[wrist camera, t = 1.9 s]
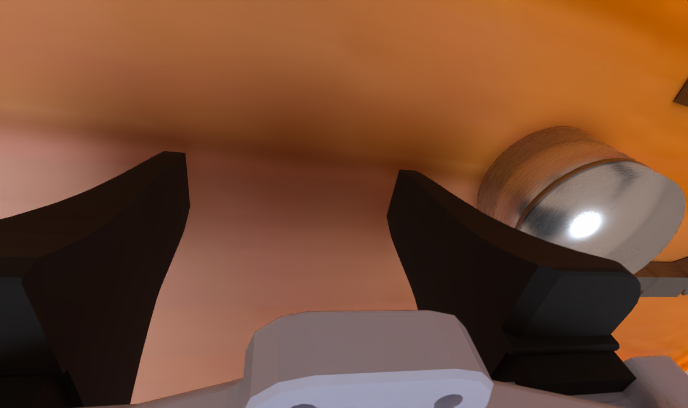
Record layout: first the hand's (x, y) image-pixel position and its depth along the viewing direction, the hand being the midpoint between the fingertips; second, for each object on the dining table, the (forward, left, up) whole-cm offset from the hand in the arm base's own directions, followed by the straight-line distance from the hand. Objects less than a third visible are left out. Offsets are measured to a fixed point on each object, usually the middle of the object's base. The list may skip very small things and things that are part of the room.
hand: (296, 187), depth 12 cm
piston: (0, -11, -2) cm, 11 cm away
